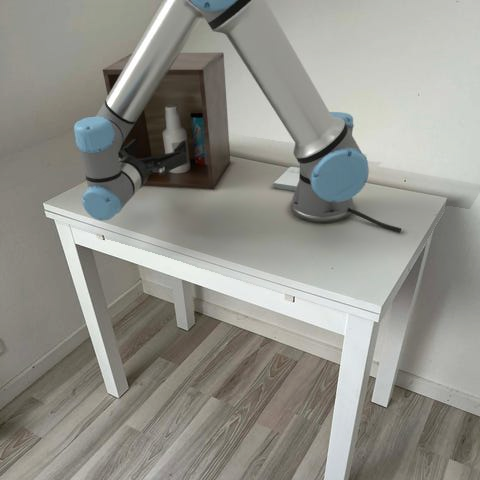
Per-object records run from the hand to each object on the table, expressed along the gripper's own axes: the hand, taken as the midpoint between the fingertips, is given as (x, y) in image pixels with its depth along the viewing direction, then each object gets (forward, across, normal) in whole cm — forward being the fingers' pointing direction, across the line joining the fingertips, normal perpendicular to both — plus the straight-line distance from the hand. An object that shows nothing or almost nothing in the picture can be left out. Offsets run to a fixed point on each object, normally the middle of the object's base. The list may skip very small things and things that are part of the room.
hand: (160, 145), depth 129 cm
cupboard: (+11, 0, -13) cm, 17 cm away
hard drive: (+10, +34, -13) cm, 38 cm away
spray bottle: (+12, 0, -12) cm, 17 cm away
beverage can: (+19, +6, -5) cm, 21 cm away
